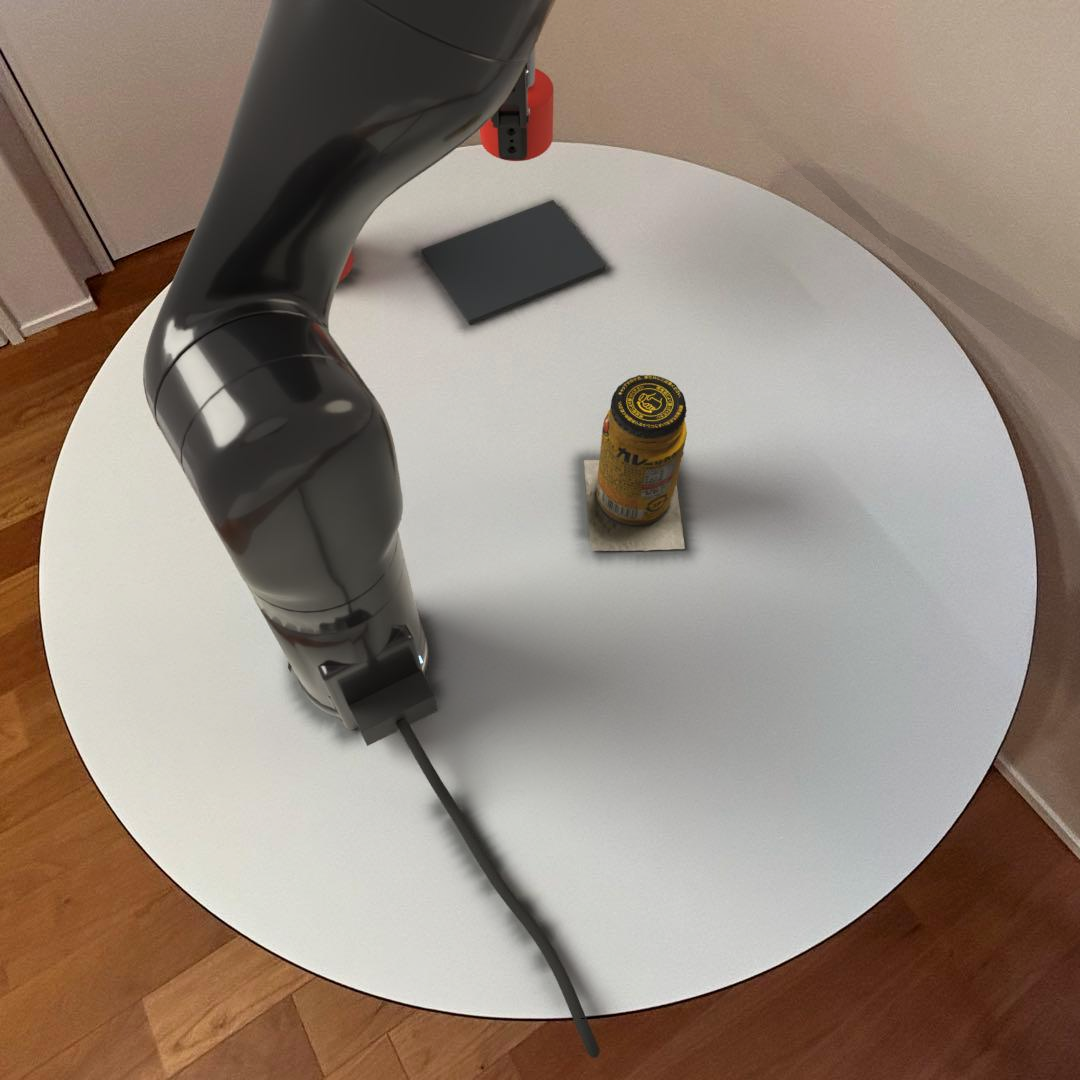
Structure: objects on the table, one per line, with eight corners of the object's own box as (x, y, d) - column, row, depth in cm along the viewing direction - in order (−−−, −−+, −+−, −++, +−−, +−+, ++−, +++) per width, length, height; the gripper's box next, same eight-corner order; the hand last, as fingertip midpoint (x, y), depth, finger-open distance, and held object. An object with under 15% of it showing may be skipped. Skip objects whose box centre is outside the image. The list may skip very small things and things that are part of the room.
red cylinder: (565, 147, 78) (567, 88, 73) (500, 170, 76) (498, 111, 72) (531, 105, 80) (531, 46, 76) (468, 127, 79) (463, 68, 74)
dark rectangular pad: (605, 270, 90) (605, 265, 90) (469, 325, 87) (468, 320, 86) (553, 204, 95) (553, 199, 94) (421, 253, 91) (420, 249, 91)
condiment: (673, 459, 80) (693, 362, 69) (684, 550, 75) (708, 461, 65) (583, 462, 80) (590, 364, 69) (590, 552, 75) (598, 464, 65)
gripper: (564, -30, 60) (560, 193, 74) (569, -152, 67) (564, 74, 81) (441, -33, 60) (461, 191, 74) (459, -153, 67) (474, 72, 81)
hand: (515, 128), depth 78 cm, fingers closed on red cylinder, 6 cm apart
